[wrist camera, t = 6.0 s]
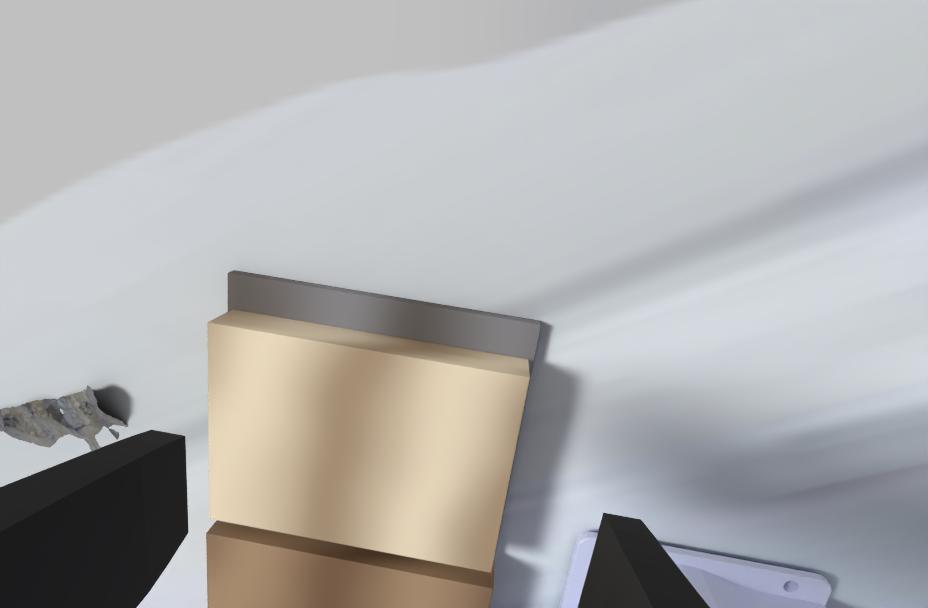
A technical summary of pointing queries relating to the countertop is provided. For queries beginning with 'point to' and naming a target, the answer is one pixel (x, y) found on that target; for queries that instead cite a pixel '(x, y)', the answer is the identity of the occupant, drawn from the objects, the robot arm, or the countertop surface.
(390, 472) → the plank
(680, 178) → the countertop surface
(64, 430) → the driftwood
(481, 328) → the floor row
